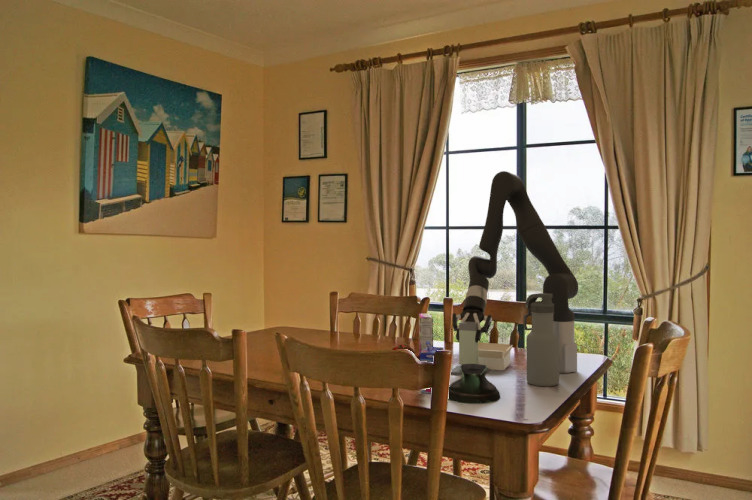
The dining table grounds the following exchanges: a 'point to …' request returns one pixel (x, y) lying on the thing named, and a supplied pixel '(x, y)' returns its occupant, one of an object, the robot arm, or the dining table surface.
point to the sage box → (468, 343)
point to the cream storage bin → (494, 355)
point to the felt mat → (457, 371)
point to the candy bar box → (425, 330)
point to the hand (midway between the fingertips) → (467, 340)
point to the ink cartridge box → (428, 358)
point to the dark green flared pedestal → (473, 386)
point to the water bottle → (541, 342)
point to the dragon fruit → (403, 347)
